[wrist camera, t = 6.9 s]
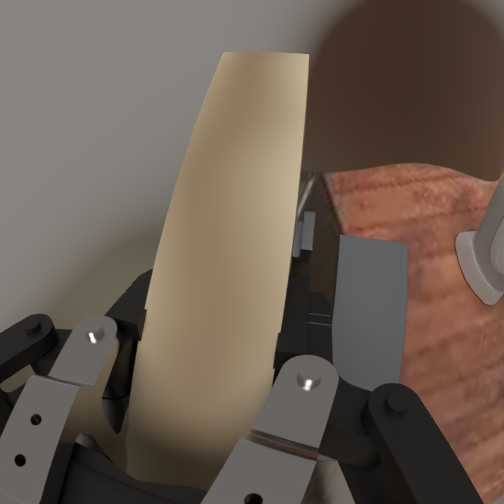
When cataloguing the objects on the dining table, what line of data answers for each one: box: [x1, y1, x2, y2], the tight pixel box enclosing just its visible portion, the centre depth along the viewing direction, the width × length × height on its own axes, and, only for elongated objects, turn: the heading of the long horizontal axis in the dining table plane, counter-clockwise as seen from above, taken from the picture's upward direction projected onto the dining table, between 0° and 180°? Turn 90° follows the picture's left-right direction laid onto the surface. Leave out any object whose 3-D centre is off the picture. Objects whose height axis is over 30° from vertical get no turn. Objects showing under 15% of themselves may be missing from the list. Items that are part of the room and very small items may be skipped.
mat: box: [317, 235, 408, 461], centre depth 28 cm, size 8×24×1 cm, turn 171°
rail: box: [126, 52, 309, 491], centre depth 9 cm, size 4×22×4 cm, turn 171°
